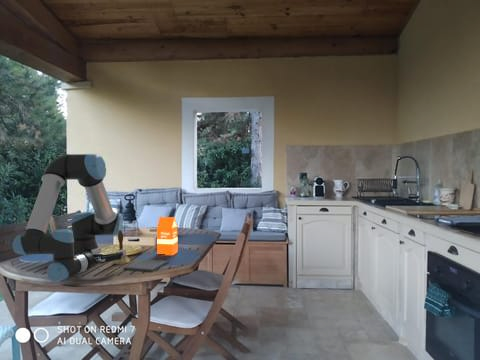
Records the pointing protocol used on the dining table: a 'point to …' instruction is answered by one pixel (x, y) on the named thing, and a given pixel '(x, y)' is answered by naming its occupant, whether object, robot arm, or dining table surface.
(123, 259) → the hand bell
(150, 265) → the place mat
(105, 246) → the dining table surface
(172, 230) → the orange juice
